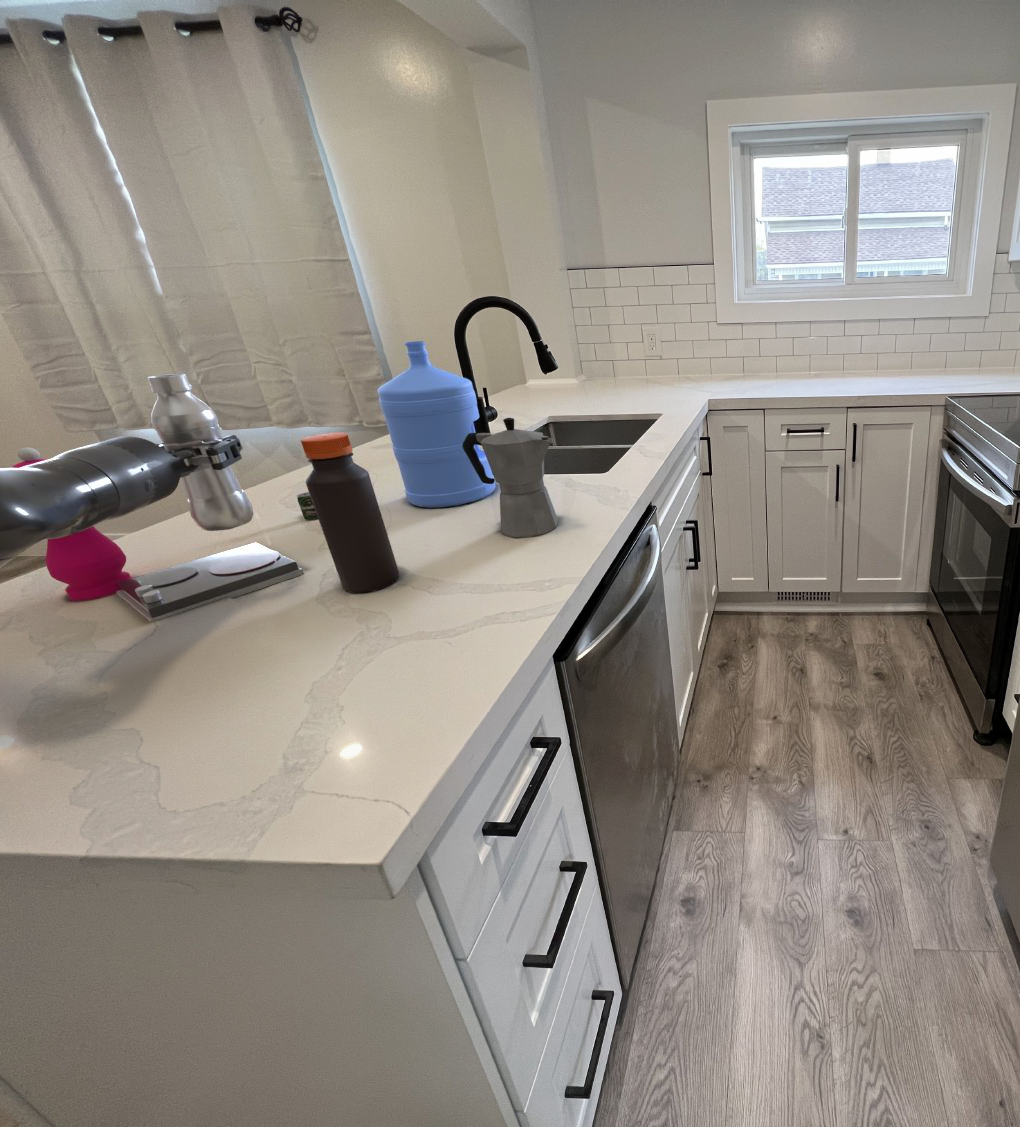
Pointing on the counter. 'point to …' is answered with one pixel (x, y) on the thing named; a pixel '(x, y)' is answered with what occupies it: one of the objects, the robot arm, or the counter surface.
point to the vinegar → (349, 514)
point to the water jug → (433, 433)
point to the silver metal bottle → (189, 419)
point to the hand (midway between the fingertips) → (207, 444)
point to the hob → (206, 580)
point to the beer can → (307, 506)
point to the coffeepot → (516, 478)
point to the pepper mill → (82, 555)
